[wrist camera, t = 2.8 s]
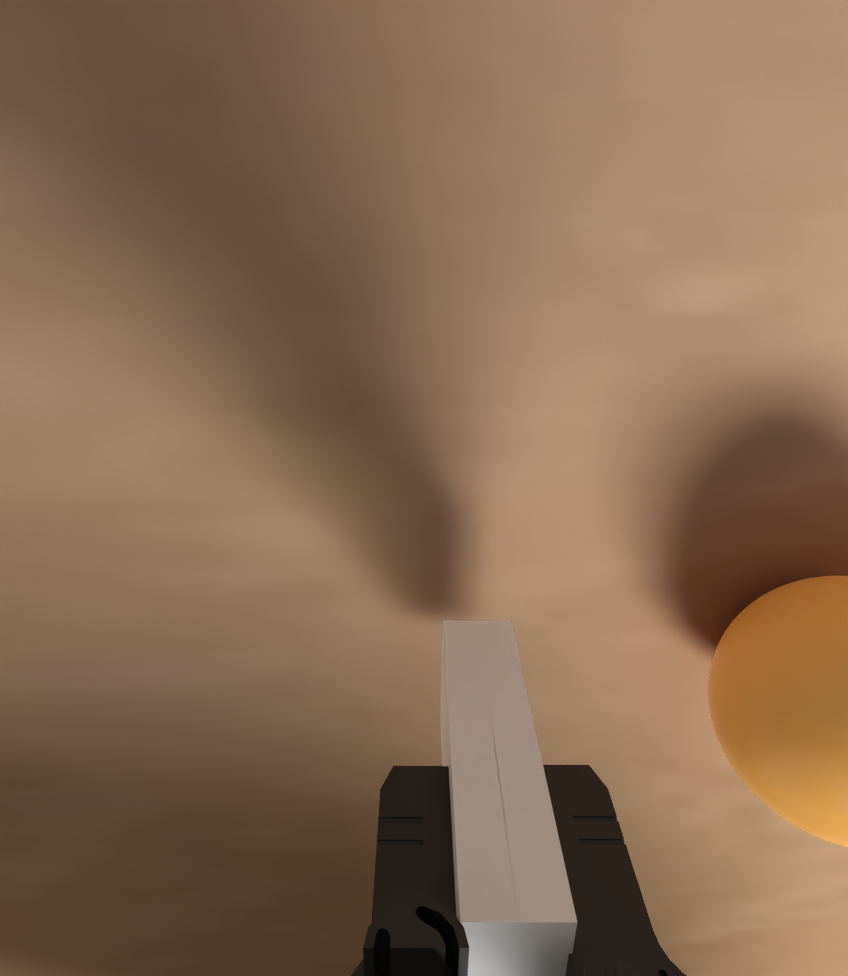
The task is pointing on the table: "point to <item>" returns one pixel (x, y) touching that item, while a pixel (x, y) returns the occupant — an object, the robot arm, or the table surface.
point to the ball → (789, 702)
